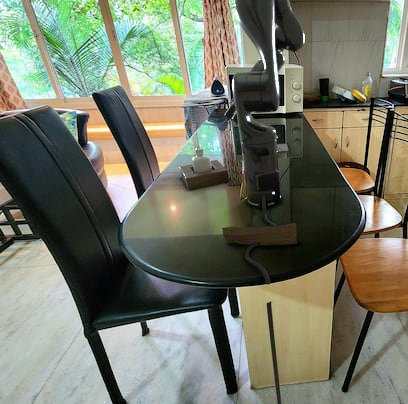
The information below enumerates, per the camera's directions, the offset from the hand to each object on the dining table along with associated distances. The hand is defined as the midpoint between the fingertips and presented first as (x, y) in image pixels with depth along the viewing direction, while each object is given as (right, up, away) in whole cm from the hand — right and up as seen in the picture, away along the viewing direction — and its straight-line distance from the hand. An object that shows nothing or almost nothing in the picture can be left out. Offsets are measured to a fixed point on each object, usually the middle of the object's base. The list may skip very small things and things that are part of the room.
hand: (230, 119), depth 93 cm
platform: (+9, -3, +35) cm, 36 cm away
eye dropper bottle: (-9, -20, +4) cm, 22 cm away
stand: (-9, -19, +4) cm, 22 cm away
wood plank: (+14, -37, -31) cm, 50 cm away
